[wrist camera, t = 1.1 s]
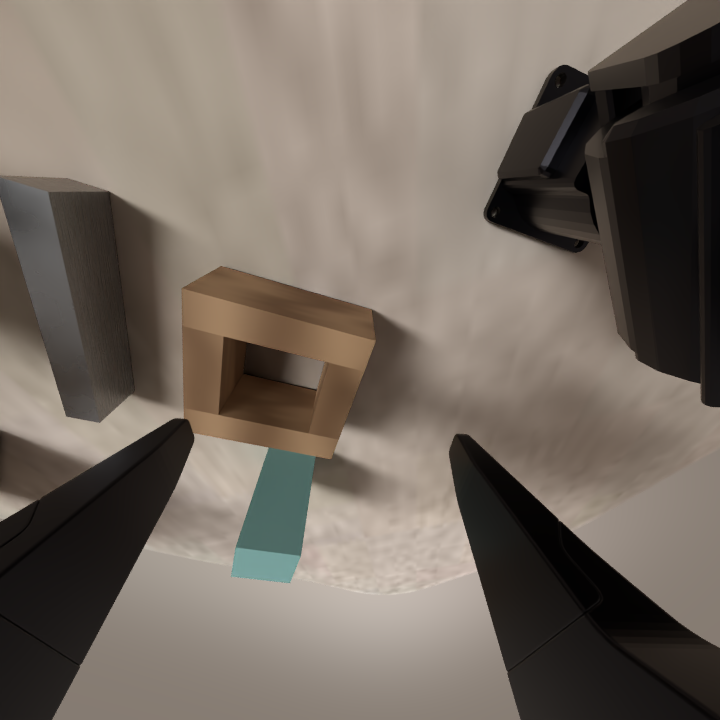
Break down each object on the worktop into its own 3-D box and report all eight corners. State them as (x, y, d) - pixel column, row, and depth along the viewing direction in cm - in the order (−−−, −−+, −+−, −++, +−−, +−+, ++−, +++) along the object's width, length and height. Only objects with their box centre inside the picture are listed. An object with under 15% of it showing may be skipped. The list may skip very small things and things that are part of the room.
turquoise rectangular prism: (317, 445, 25) (300, 556, 18) (308, 472, 27) (289, 583, 20) (272, 436, 25) (235, 547, 17) (266, 465, 27) (231, 576, 19)
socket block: (371, 309, 19) (375, 340, 15) (335, 414, 23) (330, 459, 19) (221, 266, 17) (181, 288, 13) (214, 388, 22) (184, 431, 18)
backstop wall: (108, 191, 15) (47, 191, 12) (134, 390, 22) (99, 422, 19) (66, 178, 15) (-7, 175, 12) (106, 385, 22) (66, 416, 19)
